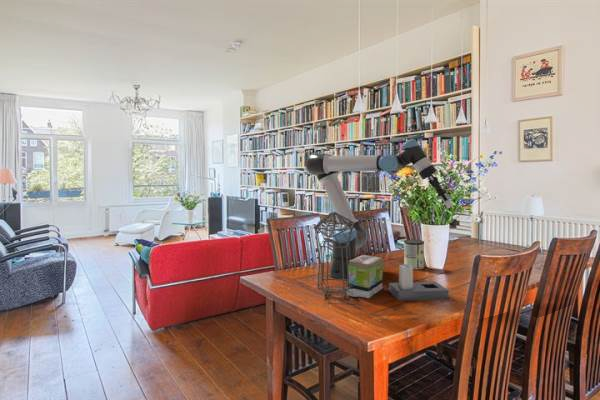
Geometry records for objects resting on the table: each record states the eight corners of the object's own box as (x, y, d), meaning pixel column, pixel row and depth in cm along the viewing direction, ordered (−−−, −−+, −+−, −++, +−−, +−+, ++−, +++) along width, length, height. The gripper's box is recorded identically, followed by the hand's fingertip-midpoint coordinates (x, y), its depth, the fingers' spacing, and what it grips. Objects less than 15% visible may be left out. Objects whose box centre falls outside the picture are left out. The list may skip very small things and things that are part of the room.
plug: (402, 297, 150) (402, 266, 149) (398, 293, 154) (399, 263, 154) (412, 296, 151) (413, 265, 150) (408, 293, 155) (409, 263, 154)
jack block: (398, 303, 146) (398, 291, 146) (389, 293, 158) (389, 282, 158) (448, 301, 148) (448, 290, 147) (435, 291, 160) (435, 281, 159)
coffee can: (405, 263, 209) (405, 238, 208) (424, 265, 205) (425, 240, 204) (402, 268, 200) (402, 241, 199) (422, 270, 195) (422, 243, 194)
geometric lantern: (355, 290, 162) (355, 209, 158) (352, 303, 147) (351, 214, 143) (319, 288, 166) (318, 209, 162) (312, 301, 150) (310, 214, 147)
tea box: (369, 300, 149) (370, 264, 148) (346, 295, 155) (347, 260, 153) (382, 290, 162) (383, 256, 161) (360, 286, 167) (361, 253, 166)
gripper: (431, 161, 166) (458, 202, 162) (433, 166, 189) (457, 202, 185) (416, 171, 168) (442, 211, 164) (420, 174, 191) (443, 210, 187)
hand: (450, 206), depth 174 cm, fingers open, 13 cm apart
